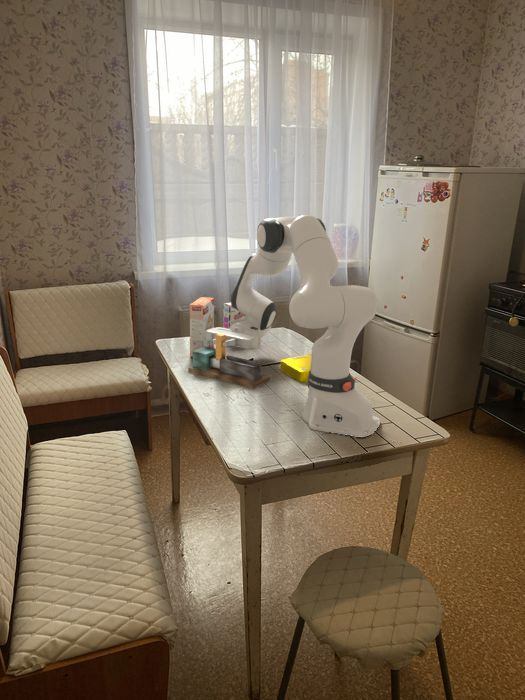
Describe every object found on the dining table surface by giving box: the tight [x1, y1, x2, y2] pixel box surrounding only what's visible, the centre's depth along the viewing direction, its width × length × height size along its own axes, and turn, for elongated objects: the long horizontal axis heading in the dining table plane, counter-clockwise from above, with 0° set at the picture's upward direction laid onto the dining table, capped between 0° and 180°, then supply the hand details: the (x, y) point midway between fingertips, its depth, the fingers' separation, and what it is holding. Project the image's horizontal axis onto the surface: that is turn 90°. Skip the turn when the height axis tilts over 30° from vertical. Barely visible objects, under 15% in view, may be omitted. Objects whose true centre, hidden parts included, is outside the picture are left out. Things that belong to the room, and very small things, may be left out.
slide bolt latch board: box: [187, 346, 271, 390], centre depth 183 cm, size 28×10×8 cm, turn 58°
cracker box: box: [189, 296, 215, 358], centre depth 204 cm, size 14×6×21 cm, turn 168°
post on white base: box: [209, 333, 232, 369], centre depth 184 cm, size 12×3×12 cm, turn 58°
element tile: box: [279, 353, 311, 383], centre depth 188 cm, size 15×15×5 cm
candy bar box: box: [222, 301, 249, 329], centre depth 221 cm, size 11×5×16 cm, turn 129°
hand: (219, 343), depth 181 cm, fingers open, 2 cm apart
